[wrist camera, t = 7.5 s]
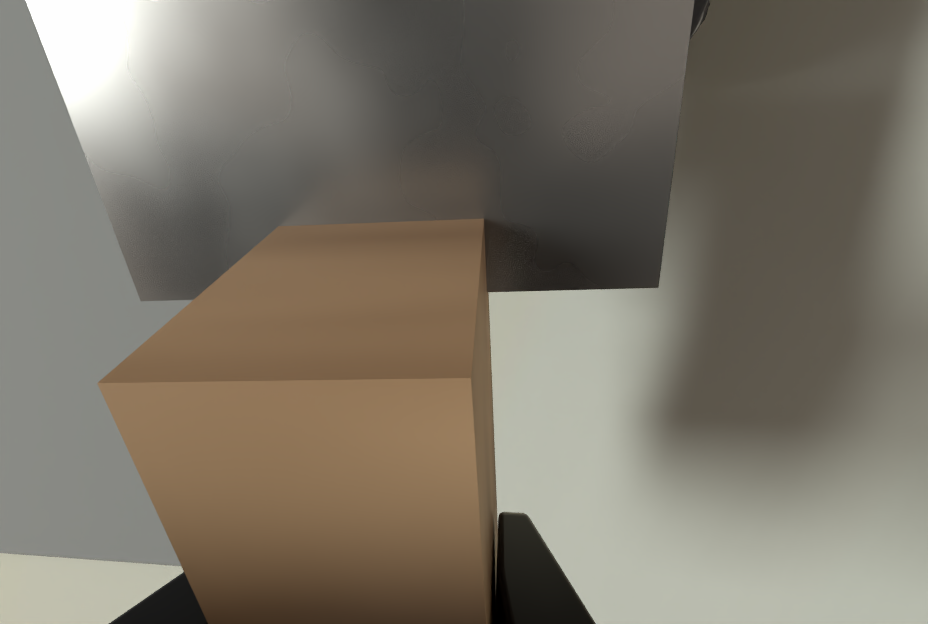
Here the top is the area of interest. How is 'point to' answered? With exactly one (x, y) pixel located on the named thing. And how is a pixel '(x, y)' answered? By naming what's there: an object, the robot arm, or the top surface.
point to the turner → (355, 264)
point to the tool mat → (63, 331)
